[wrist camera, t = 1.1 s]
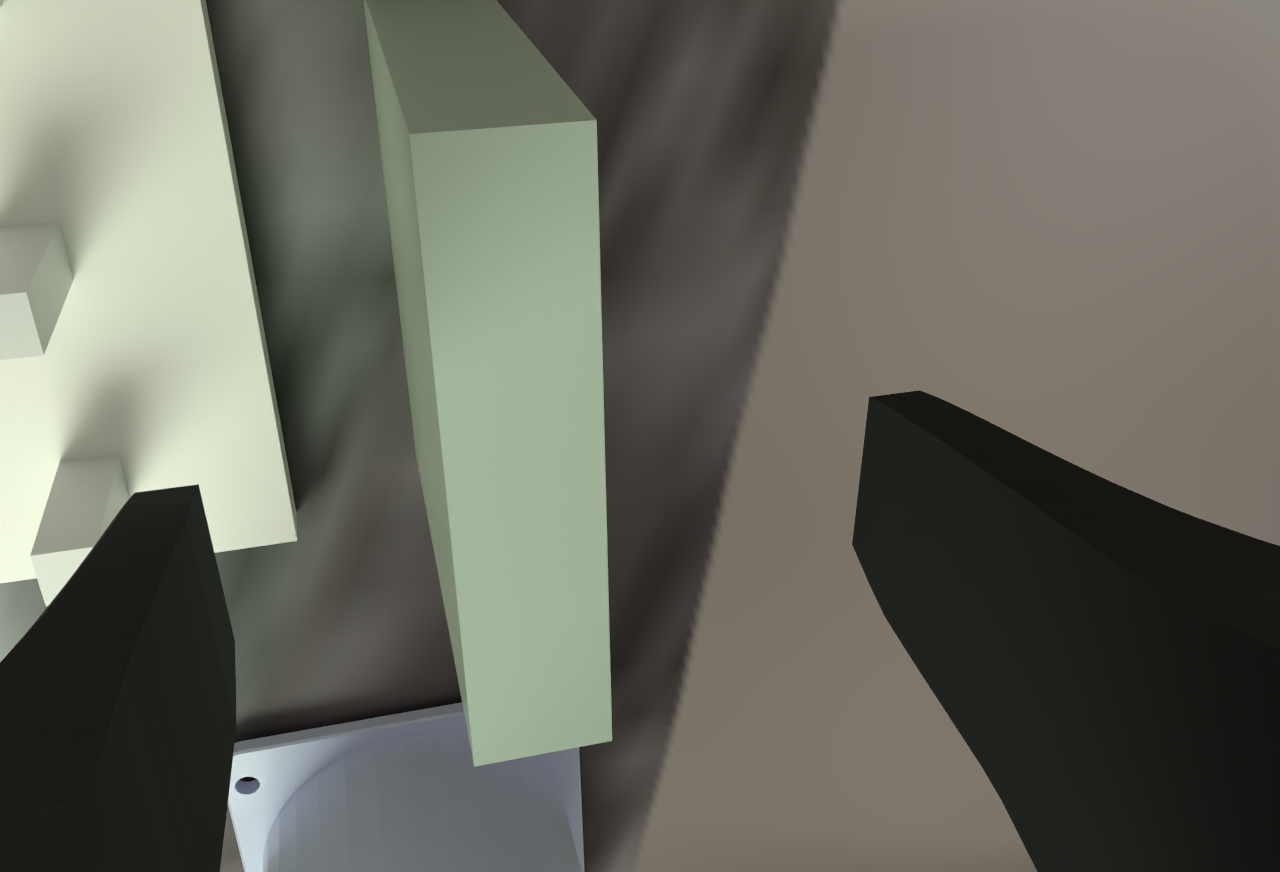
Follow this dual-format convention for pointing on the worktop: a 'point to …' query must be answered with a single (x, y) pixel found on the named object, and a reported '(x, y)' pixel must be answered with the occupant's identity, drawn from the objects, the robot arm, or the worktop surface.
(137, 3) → the rack
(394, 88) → the pale green tall block
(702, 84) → the worktop surface
